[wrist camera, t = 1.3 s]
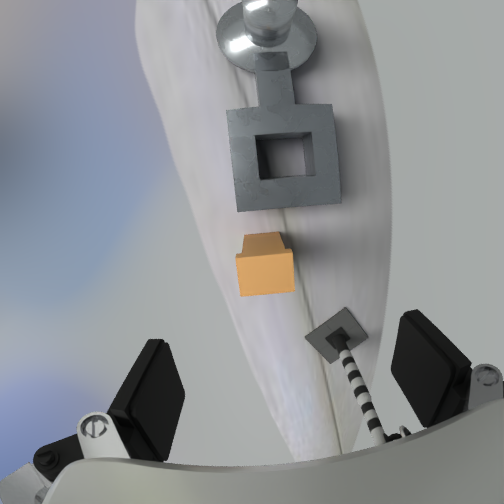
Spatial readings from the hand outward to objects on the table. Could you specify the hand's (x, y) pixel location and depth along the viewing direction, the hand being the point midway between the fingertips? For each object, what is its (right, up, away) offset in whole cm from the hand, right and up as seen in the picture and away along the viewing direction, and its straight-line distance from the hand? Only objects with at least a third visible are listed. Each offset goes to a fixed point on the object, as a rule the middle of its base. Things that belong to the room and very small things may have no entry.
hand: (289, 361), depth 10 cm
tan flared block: (0, +5, +22) cm, 23 cm away
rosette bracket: (+1, +22, +17) cm, 28 cm away
